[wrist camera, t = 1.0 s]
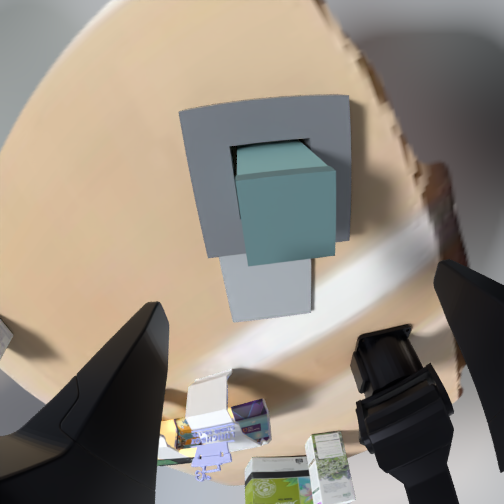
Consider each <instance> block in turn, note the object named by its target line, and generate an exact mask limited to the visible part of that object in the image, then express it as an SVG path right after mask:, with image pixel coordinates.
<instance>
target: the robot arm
mask: <svg viewBox="0 0 504 504" xmlns="http://www.w3.org/2000/svg"><path fill="white" fill-rule="evenodd" d="M433 284H434V289H435V291H436V293H437V296H438V298H439V301H440V303H441V306H442V308H443V311H444V314H445V316H446V319H447V321H448V324H449V326H450V328H451V330H452V332H453V335H454V337H455V339H456V341H457V343H458V345H459V348H460V350H461V352H462V355H463V357H464V359H465V362H466V364H467V366H468V369H469V371H470V374H471V376H472V379H473V382H474V384H475V387H476V389H477V392H478V395H479V398H480V401H481V404H482V407H483V410H484V413H485V416H486V419H487V422H488V426H489V430H490V433H491V436H492V440H493V444H494V448H495V452H496V457H497V461H498V466H499V469H500V472H501V473H502V472H503V471H504V285H502V284H500V283H498V282H496V281H494V280H492V279H490V278H488V277H486V276H484V275H482V274H480V273H478V272H476V271H474V270H472V269H470V268H468V267H465V266H463V265H461V264H459V263H457V262H455V261H453V260H450V259H447V260H442V261H440V262H439V263H438V266H437V270H436V273H435V277H434V282H433ZM410 331H411V327H410V325H404V326H400V327H396V328H392V329H387V330H383V331H379V332H374V333H369V334H364V335H361V336H359V337H358V339H357V344H356V349H355V351H354V353H353V356H352V360H351V365H350V366H351V370H352V372H353V375H354V379H355V382H356V385H357V388H358V391H359V393H361V394H362V393H364V394H365V399H363V400H359V401H357V402H356V405H357V408H356V414H357V418H358V424H359V442H360V444H362V445H365V446H366V448H367V449H368V451H369V452H370V453H371V454H375V456H376V459H377V462H378V465H379V467H380V468H381V469H382V470H383V471H384V472H386V473H389V474H390V475H392V476H393V477H395V478H396V479H397V480H399V481H400V482H402V483H403V484H404V487H405V490H406V493H407V496H408V500H409V504H459V502H458V498H457V495H456V491H455V488H454V485H453V481H452V478H451V475H450V472H449V469H448V466H447V461H448V456H449V452H450V447H451V442H452V438H453V431H454V428H453V425H452V423H451V420H450V417H449V416H450V415H452V414H454V410H453V406H452V403H451V401H450V398H449V396H448V394H447V392H446V390H445V388H444V386H443V384H442V382H441V380H440V379H439V377H438V375H437V373H436V372H435V370H434V368H433V366H432V365H431V363H429V364H427V365H426V367H424V368H423V366H422V364H421V362H420V360H419V358H418V356H417V354H416V352H415V350H414V348H413V346H412V345H411V343H410V341H409V339H408V337H409V334H410ZM168 348H169V322H168V319H167V317H166V314H165V312H164V309H163V307H162V305H161V303H160V302H158V301H156V302H147V303H146V304H145V305H144V306H143V307H142V308H141V309H140V310H139V311H138V312H137V313H136V314H135V315H134V316H133V317H132V318H131V319H130V320H129V321H128V322H127V323H126V324H125V325H124V326H123V327H122V328H121V329H120V330H119V331H118V332H117V333H116V334H115V335H114V336H113V337H112V338H111V339H110V340H109V341H108V342H107V343H106V344H105V345H104V346H103V347H102V348H101V349H100V350H99V351H98V352H97V353H96V354H95V355H94V356H93V357H92V358H91V359H90V360H89V362H88V363H87V364H86V365H85V366H84V367H83V368H82V369H81V370H80V371H79V372H78V373H77V376H74V377H73V378H72V379H71V380H70V382H69V383H68V384H67V385H66V386H65V387H64V388H63V389H62V390H61V391H60V392H59V393H58V394H57V395H56V396H55V397H54V398H53V399H52V400H51V401H50V402H49V403H48V404H46V406H45V407H43V408H42V409H41V410H40V411H39V412H38V413H37V414H36V415H35V416H33V417H32V418H31V419H30V420H29V421H28V422H27V423H26V424H25V425H24V426H23V427H21V428H20V429H19V430H17V431H16V432H14V433H12V434H9V435H5V436H0V504H155V487H156V473H157V460H158V449H159V439H160V429H161V420H162V411H163V403H164V395H165V387H166V380H167V372H168Z"/></svg>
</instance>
